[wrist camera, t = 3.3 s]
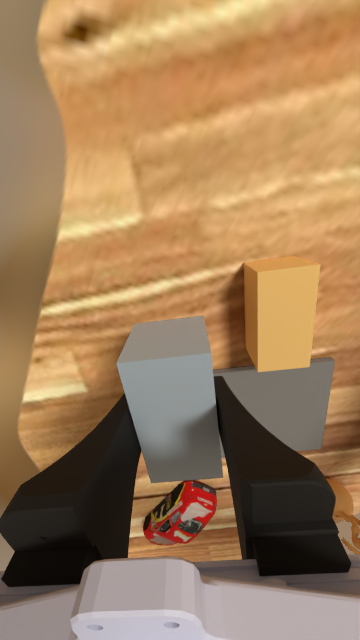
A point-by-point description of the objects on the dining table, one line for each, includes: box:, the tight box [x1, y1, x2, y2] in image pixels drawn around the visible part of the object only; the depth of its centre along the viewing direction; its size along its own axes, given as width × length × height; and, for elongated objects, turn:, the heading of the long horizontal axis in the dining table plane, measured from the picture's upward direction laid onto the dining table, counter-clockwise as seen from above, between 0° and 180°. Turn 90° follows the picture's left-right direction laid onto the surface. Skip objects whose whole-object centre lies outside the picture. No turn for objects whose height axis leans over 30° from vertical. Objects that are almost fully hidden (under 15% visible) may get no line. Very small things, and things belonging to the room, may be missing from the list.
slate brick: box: [116, 316, 223, 483], centre depth 13 cm, size 4×8×4 cm, turn 8°
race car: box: [143, 481, 217, 545], centre depth 30 cm, size 13×5×4 cm, turn 146°
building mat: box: [213, 357, 335, 457], centre depth 24 cm, size 12×12×1 cm
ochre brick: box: [244, 256, 320, 372], centre depth 18 cm, size 4×8×4 cm, turn 8°
